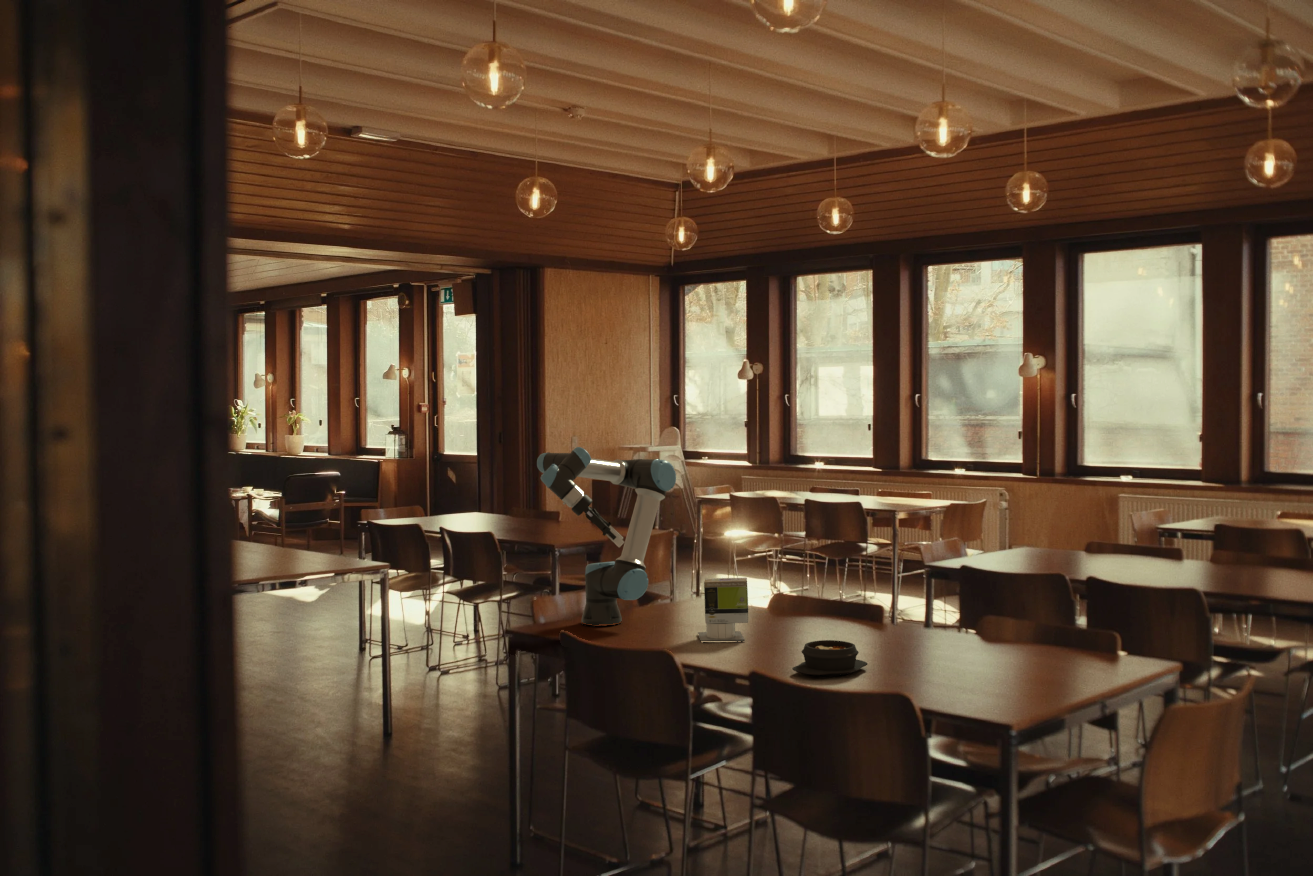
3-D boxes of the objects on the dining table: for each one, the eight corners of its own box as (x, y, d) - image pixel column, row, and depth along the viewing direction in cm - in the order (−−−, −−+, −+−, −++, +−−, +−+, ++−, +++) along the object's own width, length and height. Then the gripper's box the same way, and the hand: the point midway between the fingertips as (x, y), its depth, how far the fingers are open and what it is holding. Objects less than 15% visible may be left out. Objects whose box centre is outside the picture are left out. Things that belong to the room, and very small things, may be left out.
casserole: (823, 684, 327) (822, 655, 326) (778, 673, 341) (777, 645, 341) (882, 671, 342) (881, 643, 342) (836, 661, 357) (836, 635, 356)
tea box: (748, 618, 401) (747, 576, 400) (748, 624, 391) (747, 581, 390) (705, 619, 402) (704, 577, 401) (704, 624, 392) (703, 581, 391)
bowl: (697, 635, 404) (697, 618, 404) (740, 634, 404) (739, 617, 404) (700, 643, 389) (700, 625, 389) (744, 642, 389) (744, 624, 389)
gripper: (571, 506, 411) (613, 546, 413) (569, 511, 387) (614, 554, 388) (585, 491, 412) (627, 531, 413) (584, 495, 387) (630, 538, 388)
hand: (621, 542), depth 400 cm, fingers open, 13 cm apart
